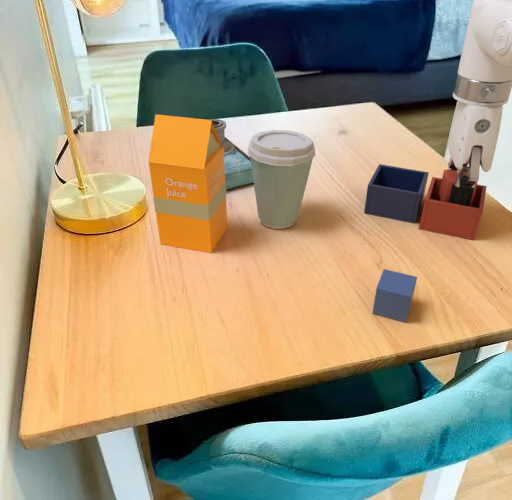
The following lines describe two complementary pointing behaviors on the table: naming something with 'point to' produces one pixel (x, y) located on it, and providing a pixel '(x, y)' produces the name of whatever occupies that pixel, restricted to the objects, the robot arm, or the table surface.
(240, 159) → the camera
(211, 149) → the orange juice
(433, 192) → the red bin
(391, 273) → the blue block
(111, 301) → the table surface
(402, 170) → the blue bin
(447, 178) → the red block
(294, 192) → the disposable coffee cup
